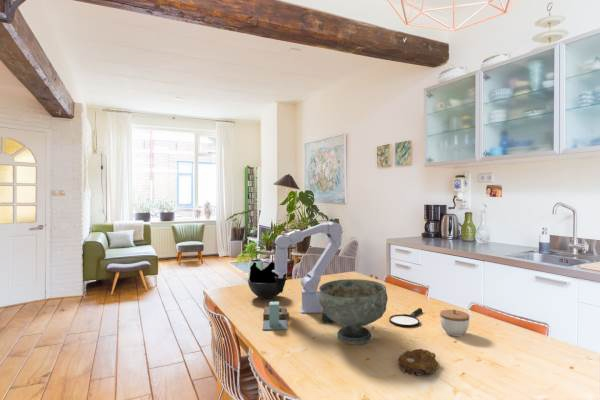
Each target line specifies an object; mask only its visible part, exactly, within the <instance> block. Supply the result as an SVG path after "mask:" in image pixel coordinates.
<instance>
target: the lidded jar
mask: <svg viewBox="0 0 600 400" xmlns="http://www.w3.org/2000/svg"><path fill="white" fill-rule="evenodd" d="M439 319H440V325H441V327H442V328H443V331H445V332H446V334H447V335H449V336H452V337H462V336H463V335H465V333H466V332H467V331H468V329H469V325H470V314H468V313H467V312H466V311H465V312H464V311H463V310H457V309H442V310H441V311H440V312H439Z"/></svg>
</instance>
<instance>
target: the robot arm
mask: <svg viewBox="0 0 600 400" xmlns="http://www.w3.org/2000/svg"><path fill="white" fill-rule="evenodd" d="M343 232H344V231H343V229H342V226H341V224H340V223H337V222H334V221H330V220H329V221H326V222H322V223H319V224H317V225H314V226H311V227H309V228H306V229H304V230H301V229H296V228H295V229H293V231H291V232H284V233H283V234H279V235H277V236H276V237H275V239H274V243H275V252H274V264H275V270H272V272H275V276H276V277H274V279H275V281H276V285H277V291H278V293H279V294H281V293H283V291H284V288H285V285H286V281H287V278H288V277H287V273H288V253H289V252H288V247H289V246H293V245H295V244H298V243H300V242H303V241H304V239H305V238H306V237H310V236H314V235H316V234H319V233H321V234H326V236H327V239H328V242H329V243H328V244H327V245H326V247H325V249H324V250H323V252H322V254H321V255H320V257H319V258H318V260H317V261H316V263H315V264H314V265H313V267H312V269H311V270H310V271H308V273H307V274H306V275H304V276H303V277H302V278H301V281H300V284H301V286H302V287H303V288H302V289H301V306H300V312H301V313H302V314H309V313H311V314H313V313H314V314H315V313H316V314H317V313H323V309H322V307H321V304H320V301H319V295H320V291H318V290H319V284H320V283H321V277H322V275H323V274H324V272H325V271H326V269H327V268H328V266H329V264H330V263H331V261H332V260H333V258H334V257H335V255H336V253H337V252H338V250H339V248H340V247H341V245H342V236H343ZM284 284H285V285H284Z"/></svg>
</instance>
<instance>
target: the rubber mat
mask: <svg viewBox="0 0 600 400" xmlns="http://www.w3.org/2000/svg"><path fill="white" fill-rule="evenodd" d="M287 330H288V319H287V320H279V326H269V320H263V323H262V331H287Z"/></svg>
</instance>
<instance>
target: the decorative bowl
mask: <svg viewBox="0 0 600 400" xmlns="http://www.w3.org/2000/svg"><path fill="white" fill-rule="evenodd" d="M318 290H319V292H320V295H319V301H320V304H321V307H322V312H323V313H325V314H326V315H327V316H328V318H330V319H331V320H333V321H334V322H333V323H336V324H338V325H341V326H342V327H341V328H339V330H338V331H337V332H336V333H337V339H338V340H339V341H340V342H342V343H345V344H348V345H349V344H350V345H364V344H367V343H369V342H371V341H372V340H373V334H372V332H371V331H370V330H369V329H367V328H365V326H368V325H371V324H372V323H375V322H376V321H378V320H379V319H382V317H383V316H384V314H385V312H386V311H387V304H388V299H389V298H388V292H387V286H386V284H383V283H381V282H378V281H374V280H369V279H359V278H358V279H357V278H354V279H353V278H351V279H348V278H347V279H346V278H345V279H335V280H331V281H327V282H324V283H322V284H321V285H320V286H318Z"/></svg>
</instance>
